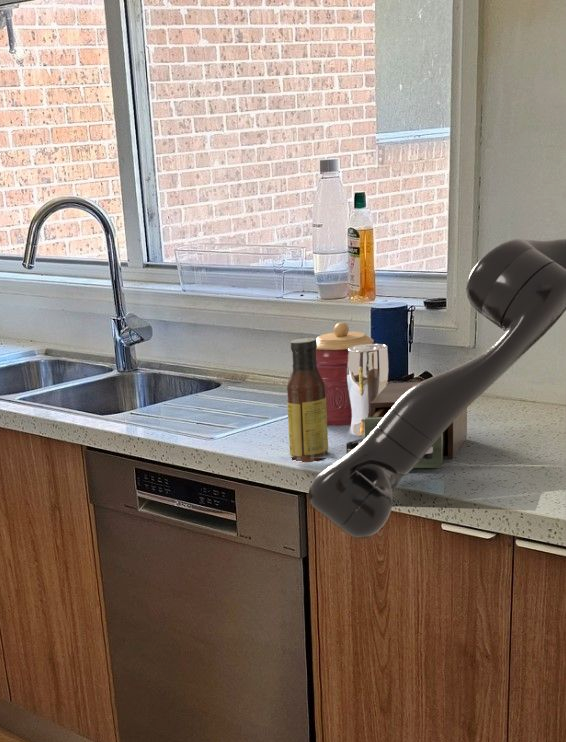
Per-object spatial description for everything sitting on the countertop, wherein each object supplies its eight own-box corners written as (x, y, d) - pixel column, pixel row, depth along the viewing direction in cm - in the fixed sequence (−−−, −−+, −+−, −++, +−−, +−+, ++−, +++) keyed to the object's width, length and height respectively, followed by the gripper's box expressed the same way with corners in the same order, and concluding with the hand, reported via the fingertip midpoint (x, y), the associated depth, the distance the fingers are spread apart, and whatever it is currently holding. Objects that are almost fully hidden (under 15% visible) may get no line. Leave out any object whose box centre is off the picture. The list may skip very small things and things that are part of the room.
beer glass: (385, 438, 209) (387, 349, 203) (344, 439, 211) (344, 351, 205) (388, 429, 215) (390, 342, 209) (348, 430, 217) (348, 344, 211)
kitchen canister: (298, 416, 231) (297, 321, 224) (367, 409, 231) (368, 314, 224) (313, 431, 220) (312, 331, 212) (385, 424, 219) (387, 323, 212)
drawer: (440, 469, 184) (440, 418, 181) (363, 470, 189) (362, 421, 186) (455, 445, 196) (455, 396, 193) (383, 446, 201) (382, 399, 198)
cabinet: (452, 460, 191) (453, 399, 187) (371, 462, 197) (370, 402, 193) (466, 437, 203) (467, 379, 199) (389, 439, 208) (388, 383, 204)
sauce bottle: (333, 457, 203) (332, 335, 195) (321, 467, 198) (320, 342, 190) (295, 456, 207) (293, 336, 198) (282, 465, 202) (280, 343, 194)
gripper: (425, 438, 166) (446, 408, 180) (328, 441, 172) (355, 412, 186) (425, 491, 169) (446, 458, 183) (330, 492, 175) (357, 460, 189)
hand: (400, 435), depth 184 cm, fingers closed
